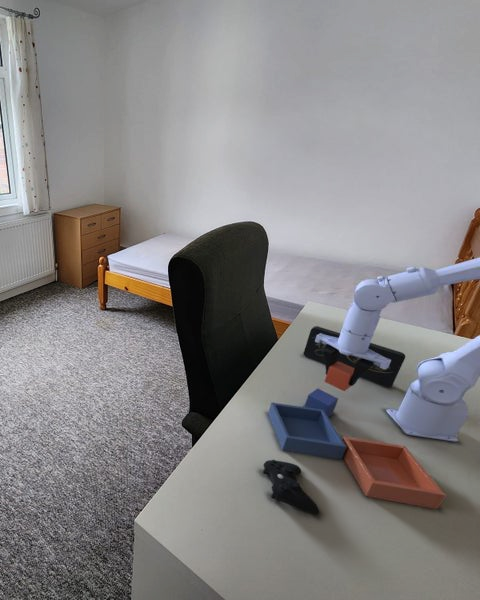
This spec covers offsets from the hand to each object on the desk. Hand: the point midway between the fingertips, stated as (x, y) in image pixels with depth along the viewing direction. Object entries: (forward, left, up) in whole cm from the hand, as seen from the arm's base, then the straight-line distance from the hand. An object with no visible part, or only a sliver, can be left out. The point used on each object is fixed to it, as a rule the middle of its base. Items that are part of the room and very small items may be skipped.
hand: (339, 378), depth 84 cm
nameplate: (-8, -14, -6) cm, 17 cm away
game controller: (+20, +31, -6) cm, 37 cm away
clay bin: (+1, +24, -6) cm, 25 cm away
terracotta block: (0, 0, -1) cm, 1 cm away
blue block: (+6, +7, -6) cm, 11 cm away
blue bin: (+13, +16, -6) cm, 21 cm away
